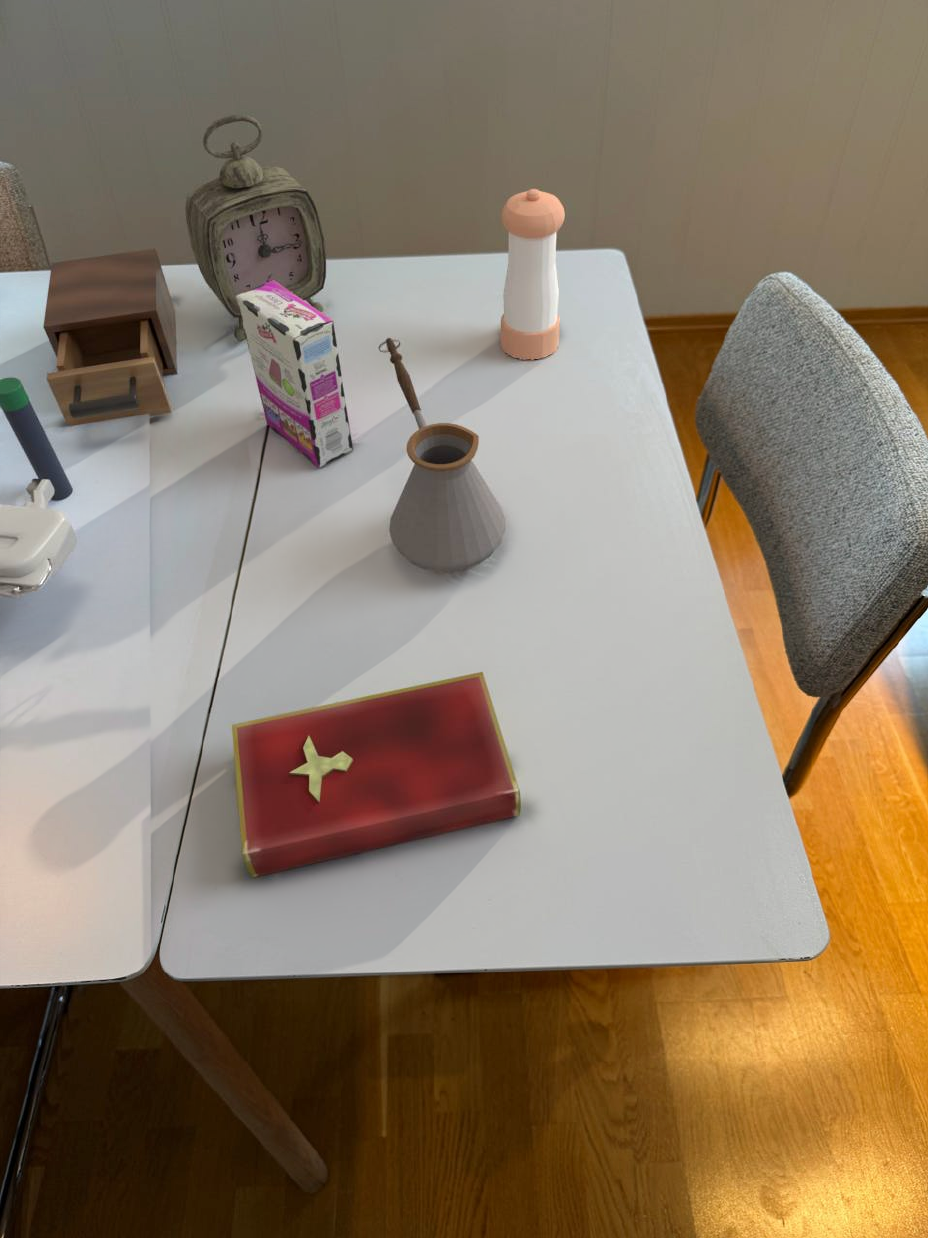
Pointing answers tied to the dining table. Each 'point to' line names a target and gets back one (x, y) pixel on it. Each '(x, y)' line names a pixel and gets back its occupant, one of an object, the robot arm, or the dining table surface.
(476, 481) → the coffee pot
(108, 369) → the drawer
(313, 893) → the dining table surface
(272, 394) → the candy bar box
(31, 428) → the marker
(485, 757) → the hardcover book
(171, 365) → the cabinet
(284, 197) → the tabletop clock
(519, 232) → the pepper shaker
